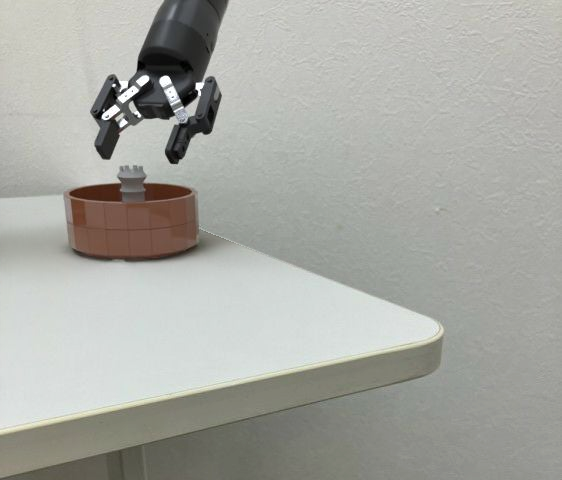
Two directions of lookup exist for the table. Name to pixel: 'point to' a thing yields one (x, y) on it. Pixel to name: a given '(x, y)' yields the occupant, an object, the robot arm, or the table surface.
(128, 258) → the bowl
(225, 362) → the table surface
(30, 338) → the table surface
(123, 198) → the rook chess piece
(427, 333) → the table surface
